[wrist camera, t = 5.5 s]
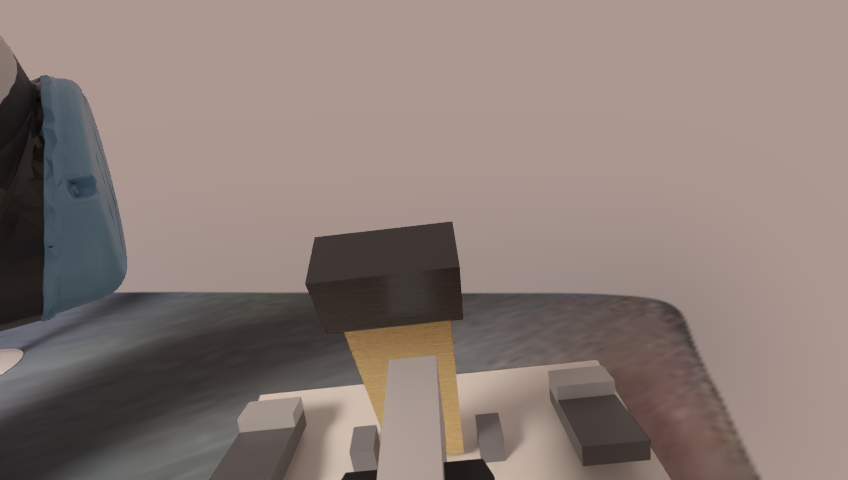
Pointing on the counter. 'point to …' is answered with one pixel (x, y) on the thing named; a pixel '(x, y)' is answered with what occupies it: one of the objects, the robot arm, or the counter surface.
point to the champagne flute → (9, 358)
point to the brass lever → (393, 305)
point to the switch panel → (481, 430)
